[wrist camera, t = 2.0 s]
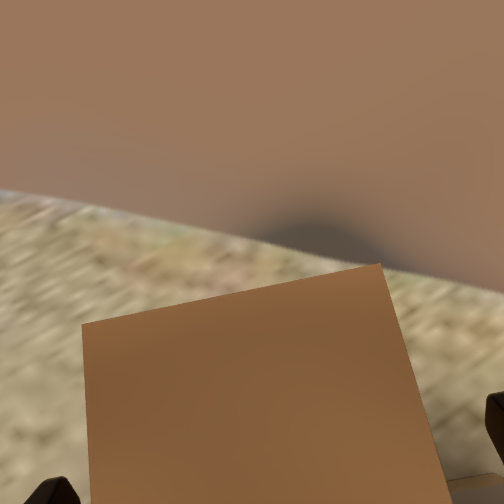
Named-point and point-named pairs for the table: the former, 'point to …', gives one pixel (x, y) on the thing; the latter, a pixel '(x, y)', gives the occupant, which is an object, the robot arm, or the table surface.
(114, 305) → the table surface
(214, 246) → the table surface
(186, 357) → the walnut block
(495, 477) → the slate board
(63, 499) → the robot arm
